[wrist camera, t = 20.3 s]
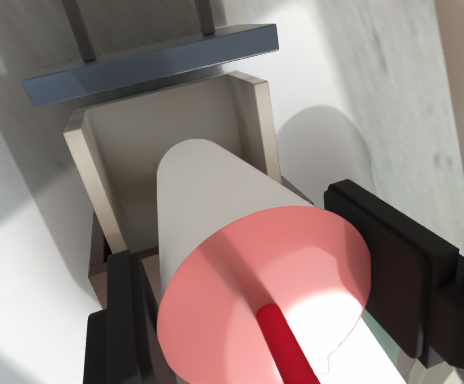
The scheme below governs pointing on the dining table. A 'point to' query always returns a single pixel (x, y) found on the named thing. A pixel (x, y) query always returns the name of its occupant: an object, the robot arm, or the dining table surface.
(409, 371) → the coffee cup
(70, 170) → the dining table surface
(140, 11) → the dining table surface
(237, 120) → the drawer
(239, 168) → the cup
